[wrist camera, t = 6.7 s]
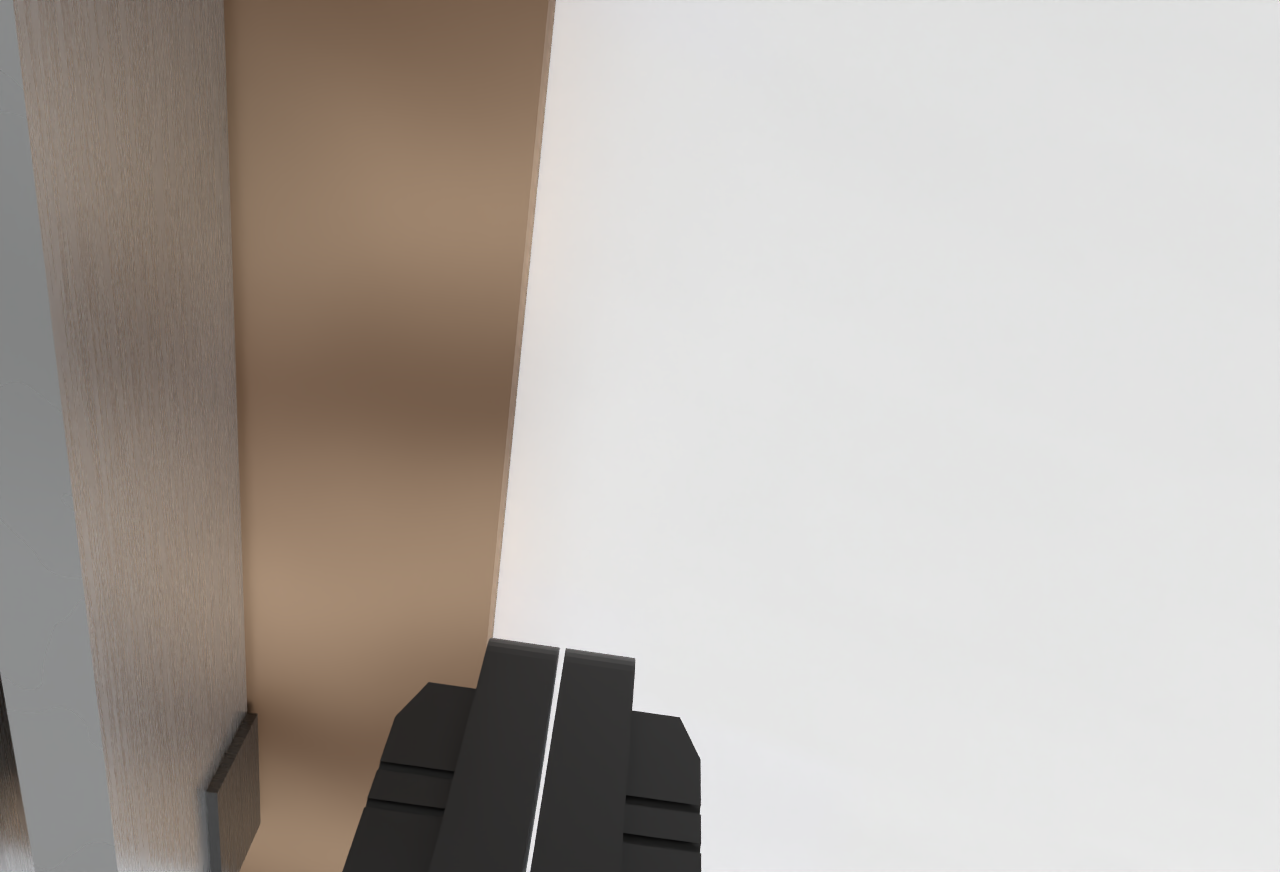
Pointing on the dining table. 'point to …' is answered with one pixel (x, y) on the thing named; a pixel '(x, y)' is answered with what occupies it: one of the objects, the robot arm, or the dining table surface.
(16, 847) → the arm
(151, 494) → the tongs swing arm
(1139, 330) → the dining table surface
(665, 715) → the robot arm
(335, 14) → the walnut board
